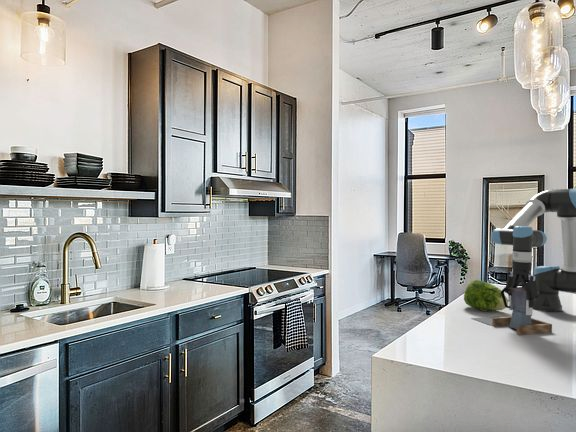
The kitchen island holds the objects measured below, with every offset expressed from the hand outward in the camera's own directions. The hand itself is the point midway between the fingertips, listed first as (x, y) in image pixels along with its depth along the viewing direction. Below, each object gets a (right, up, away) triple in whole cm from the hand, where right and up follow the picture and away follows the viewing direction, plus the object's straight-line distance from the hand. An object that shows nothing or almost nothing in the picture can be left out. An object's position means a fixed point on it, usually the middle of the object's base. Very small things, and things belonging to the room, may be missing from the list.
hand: (520, 312), depth 188 cm
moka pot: (0, -7, 0) cm, 7 cm away
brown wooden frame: (0, -7, 0) cm, 7 cm away
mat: (-5, -7, +13) cm, 16 cm away
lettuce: (+1, -7, +35) cm, 36 cm away
